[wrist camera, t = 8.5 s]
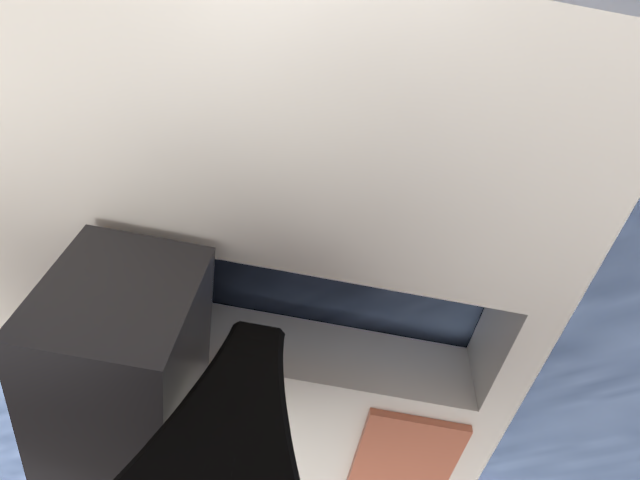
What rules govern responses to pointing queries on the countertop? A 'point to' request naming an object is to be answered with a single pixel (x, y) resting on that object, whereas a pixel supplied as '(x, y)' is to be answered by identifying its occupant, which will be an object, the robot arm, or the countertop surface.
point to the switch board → (340, 183)
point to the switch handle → (105, 351)
